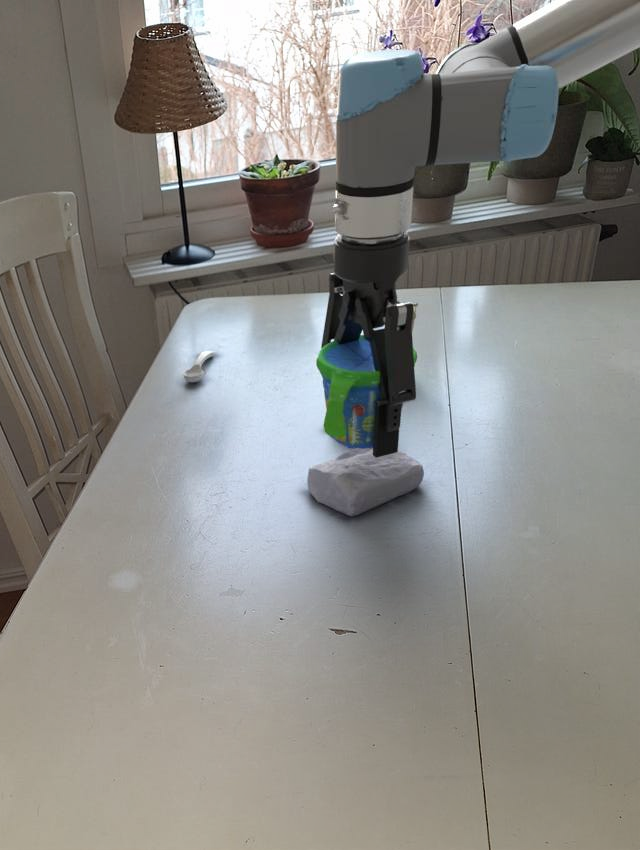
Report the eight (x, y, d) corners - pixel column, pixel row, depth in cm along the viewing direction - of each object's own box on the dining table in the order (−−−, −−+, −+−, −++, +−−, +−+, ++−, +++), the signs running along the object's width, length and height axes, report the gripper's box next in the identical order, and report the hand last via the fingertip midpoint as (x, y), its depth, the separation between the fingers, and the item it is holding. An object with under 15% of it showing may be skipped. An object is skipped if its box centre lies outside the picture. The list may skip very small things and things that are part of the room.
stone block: (299, 503, 113) (353, 521, 105) (295, 466, 111) (350, 481, 103) (373, 474, 117) (430, 490, 109) (370, 438, 115) (429, 451, 107)
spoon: (181, 385, 139) (180, 372, 138) (200, 359, 148) (199, 347, 147) (200, 385, 138) (199, 372, 137) (218, 359, 148) (217, 347, 146)
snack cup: (367, 476, 99) (371, 388, 93) (286, 453, 105) (285, 368, 99) (436, 420, 108) (445, 335, 102) (358, 401, 114) (362, 320, 108)
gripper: (291, 215, 100) (292, 405, 114) (395, 269, 83) (381, 485, 97) (353, 203, 102) (346, 392, 116) (467, 253, 85) (444, 468, 99)
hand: (362, 434), depth 107 cm, fingers closed on snack cup, 10 cm apart
